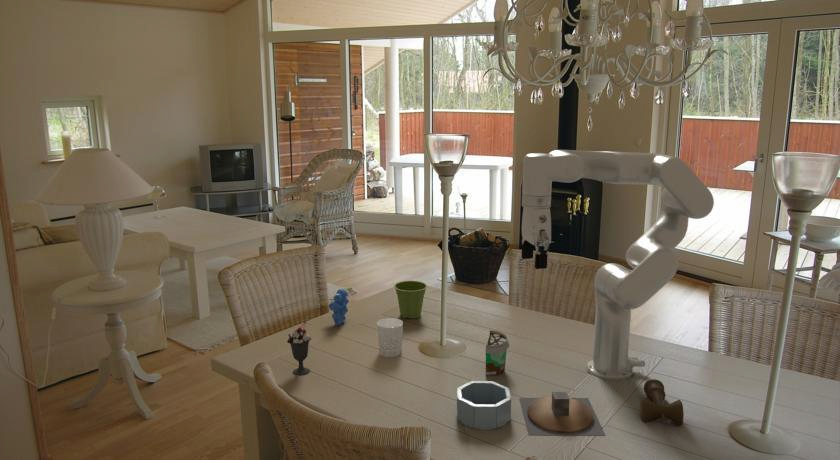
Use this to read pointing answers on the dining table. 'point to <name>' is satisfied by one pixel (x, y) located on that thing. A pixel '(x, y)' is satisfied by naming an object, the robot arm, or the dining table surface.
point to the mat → (536, 430)
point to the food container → (496, 353)
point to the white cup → (390, 337)
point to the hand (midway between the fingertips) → (533, 263)
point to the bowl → (483, 405)
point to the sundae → (300, 349)
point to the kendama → (659, 404)
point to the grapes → (339, 306)
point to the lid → (560, 413)
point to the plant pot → (410, 298)
